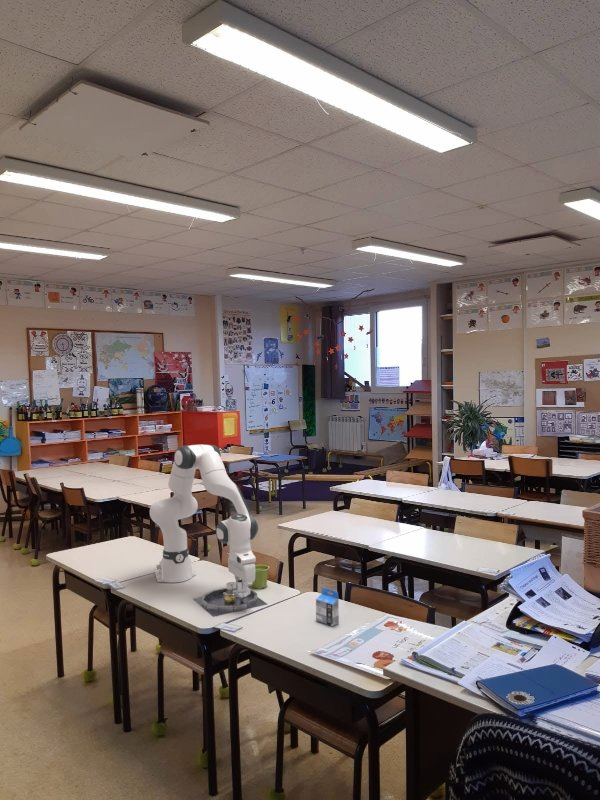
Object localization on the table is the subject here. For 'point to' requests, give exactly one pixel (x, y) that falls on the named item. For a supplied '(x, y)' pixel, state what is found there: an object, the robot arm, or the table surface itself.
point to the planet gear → (240, 590)
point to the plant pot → (260, 576)
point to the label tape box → (327, 607)
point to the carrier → (228, 601)
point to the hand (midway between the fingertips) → (241, 587)
